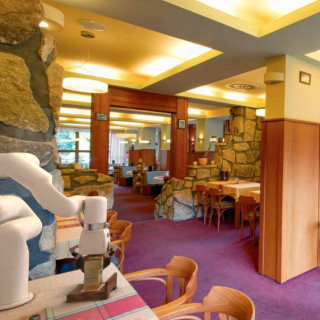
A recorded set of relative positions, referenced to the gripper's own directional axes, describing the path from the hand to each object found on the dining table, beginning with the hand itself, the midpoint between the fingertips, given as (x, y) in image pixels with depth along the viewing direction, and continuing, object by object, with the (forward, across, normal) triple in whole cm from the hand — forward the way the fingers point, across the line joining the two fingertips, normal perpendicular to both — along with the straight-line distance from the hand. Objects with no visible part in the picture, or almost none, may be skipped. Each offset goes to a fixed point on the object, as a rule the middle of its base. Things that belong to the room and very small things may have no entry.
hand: (93, 267), depth 118 cm
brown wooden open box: (+12, 0, 0) cm, 12 cm away
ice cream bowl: (+12, +4, -12) cm, 17 cm away
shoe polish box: (+9, 0, 0) cm, 9 cm away
